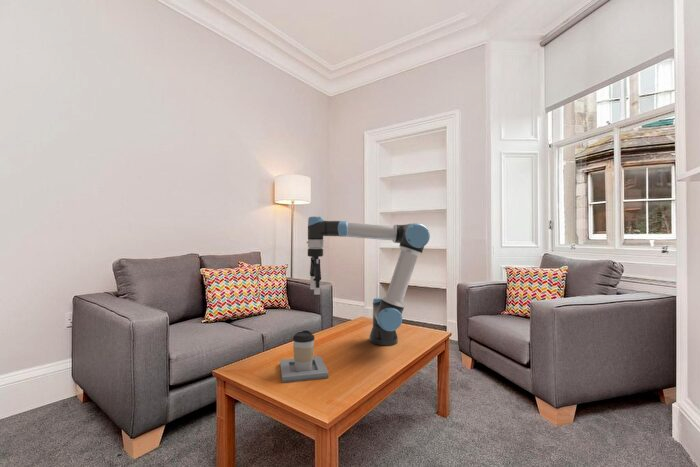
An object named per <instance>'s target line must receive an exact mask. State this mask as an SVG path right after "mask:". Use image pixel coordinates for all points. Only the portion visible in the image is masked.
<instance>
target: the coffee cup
mask: <svg viewBox="0 0 700 467" xmlns="http://www.w3.org/2000/svg"><path fill="white" fill-rule="evenodd" d="M292 342H293V345H292V346H293V347H292V348H293V359H294V360H295V370H296V371H298V372H303V371H310V370H311V369H312V360H313V357H314V353H315V352H314V349H315V335H314V334H313V333H312V332H311V331H309V330H303V331H298V332H296V333H295V334H294V335H293V336H292Z"/></svg>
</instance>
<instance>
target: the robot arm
mask: <svg viewBox="0 0 700 467" xmlns="http://www.w3.org/2000/svg"><path fill="white" fill-rule="evenodd" d="M307 219H308V220H307V241H306V244H307V257H309V258H310V266H309V268H310V269H309V276H310V277H309V278H310V280H309V281H310V284H309V289H310V290H313V295H315V296H316V295H321V280H322V272H321V271H322V270H321V259H320V258H319V257H323V256H324V249H323V248H324V237H345V238H346V237H347V238H356V239H357V238H358V239H371V240H382V241H391V242H392V243H395V244H399V249H400V251H399V252H400V253H399V256H398V258H397V262H396V265H395V268H394V270H393V273H392V274H393V275H392V277H391V279H390V281H389V282H390V283H389V286H388V289H387V292H386V295H385V296H384V297H375V298H373V300H372V327H371V330H370V334H369V338H368V339H369V342H370V343H371V344H374V345H377V346H393V345H396V344H398V342H399V338H398V333H397V331H396V330H398V329H399V328H400V327H401V326H402V323H403V312H404V309H405V305H404V299H405V296H406V293H407V290H408V286H409V283H410V280H411V277H412V275H413V272H414V269H415V266H416V263H417V259H418V257H419V256H421V255H422V254H423V250H424V248H425V247H426V246H427V244H428V243H429V241H430V238H431V235H430V231H429V229H428V227H426V226H425V225H423V224H422V223H418V222H413V223H406V224H394V225H393V226H392V225H379V224H370V223H369V224H368V223H355V222H348V221H347V220H325V219H324V217H323V216H309V217H308V218H307Z"/></svg>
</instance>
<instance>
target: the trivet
mask: <svg viewBox="0 0 700 467" xmlns="http://www.w3.org/2000/svg"><path fill="white" fill-rule="evenodd" d="M279 366H280V376H281V382H282V383H291V382H301V381H310V380H321V379H329V371H328V368H327V366H326V365H325V363H324V359H323V358H322V356H320V355H319V356H313V360H312V369H311V370H310V371H303V372H298V371H296V370H295V360H294V358H286V359H285V358H284V359H283V358H282V359H280V360H279Z"/></svg>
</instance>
